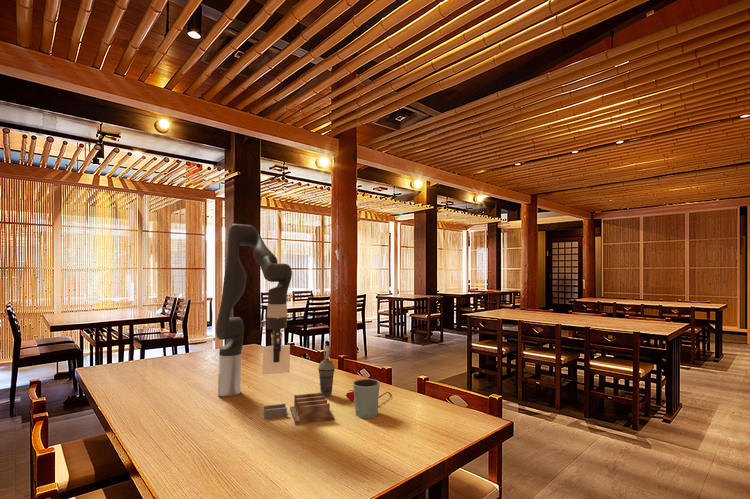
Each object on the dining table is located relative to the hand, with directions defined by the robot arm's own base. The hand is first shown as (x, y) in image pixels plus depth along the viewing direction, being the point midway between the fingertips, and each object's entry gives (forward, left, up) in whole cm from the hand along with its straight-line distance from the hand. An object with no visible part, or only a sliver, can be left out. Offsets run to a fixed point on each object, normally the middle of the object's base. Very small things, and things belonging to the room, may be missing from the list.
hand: (276, 361), depth 148 cm
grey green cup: (+33, -10, -20) cm, 40 cm away
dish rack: (+13, -4, -20) cm, 24 cm away
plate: (0, 0, -4) cm, 4 cm away
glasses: (+40, +8, -21) cm, 46 cm away
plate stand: (0, 0, -20) cm, 20 cm away
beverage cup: (+23, +16, -20) cm, 35 cm away
